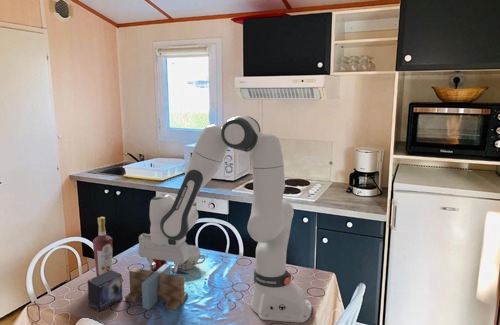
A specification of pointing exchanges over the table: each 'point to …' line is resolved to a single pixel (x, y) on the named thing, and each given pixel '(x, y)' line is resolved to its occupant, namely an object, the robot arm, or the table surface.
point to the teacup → (192, 258)
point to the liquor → (102, 249)
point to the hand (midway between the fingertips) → (163, 269)
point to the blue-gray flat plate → (152, 287)
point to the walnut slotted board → (167, 290)
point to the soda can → (158, 264)
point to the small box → (104, 290)
